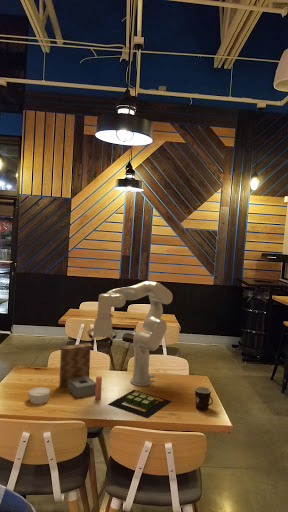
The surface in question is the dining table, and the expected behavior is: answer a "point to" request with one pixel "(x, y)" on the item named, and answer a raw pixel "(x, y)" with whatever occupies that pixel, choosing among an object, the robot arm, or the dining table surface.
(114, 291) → the robot arm
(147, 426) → the dining table surface
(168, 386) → the dining table surface
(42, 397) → the ramekin
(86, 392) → the socket block
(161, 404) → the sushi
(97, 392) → the peg
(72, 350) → the wood grain panel
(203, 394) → the coffee mug
